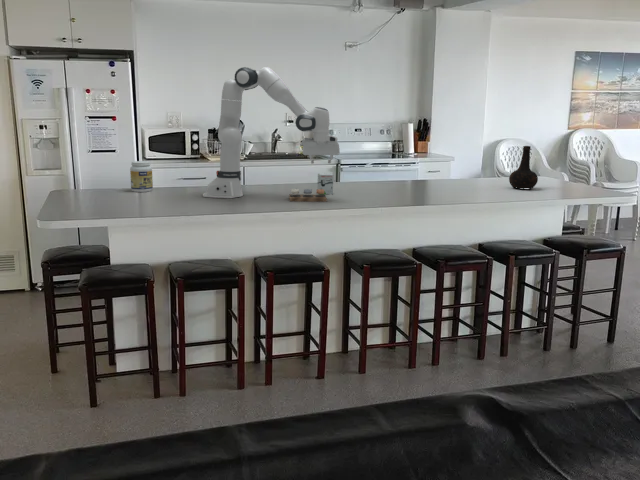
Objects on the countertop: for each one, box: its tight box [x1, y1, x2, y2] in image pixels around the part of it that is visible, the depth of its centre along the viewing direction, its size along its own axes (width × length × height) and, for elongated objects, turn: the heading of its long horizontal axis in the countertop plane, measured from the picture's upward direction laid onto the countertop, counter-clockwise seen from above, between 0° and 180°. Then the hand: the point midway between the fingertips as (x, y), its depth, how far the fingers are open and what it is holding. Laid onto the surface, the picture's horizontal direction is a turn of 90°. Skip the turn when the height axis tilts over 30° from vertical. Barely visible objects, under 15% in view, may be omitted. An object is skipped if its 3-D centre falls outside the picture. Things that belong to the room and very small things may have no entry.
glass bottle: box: [508, 145, 539, 189], centre depth 392 cm, size 18×18×28 cm
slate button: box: [303, 188, 313, 195], centre depth 332 cm, size 4×4×2 cm
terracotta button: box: [315, 188, 325, 195], centre depth 333 cm, size 4×4×2 cm
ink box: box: [316, 172, 334, 195], centre depth 355 cm, size 9×5×12 cm, turn 105°
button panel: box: [288, 193, 328, 203], centre depth 333 cm, size 20×12×2 cm, turn 95°
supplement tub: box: [129, 160, 154, 193], centre depth 350 cm, size 12×12×17 cm
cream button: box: [290, 188, 300, 194], centre depth 332 cm, size 4×4×2 cm
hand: (320, 163), depth 330 cm, fingers open, 8 cm apart
